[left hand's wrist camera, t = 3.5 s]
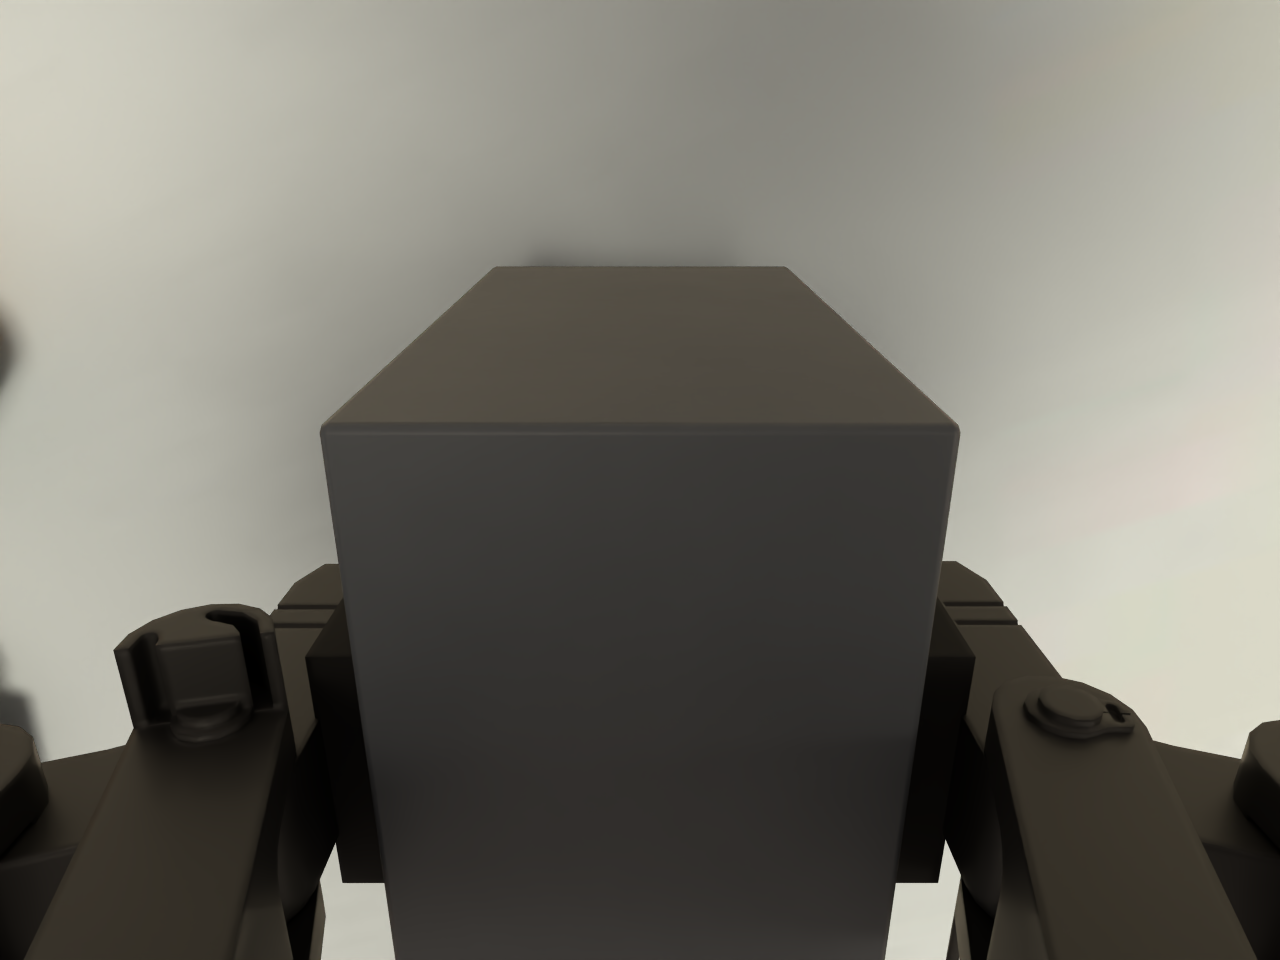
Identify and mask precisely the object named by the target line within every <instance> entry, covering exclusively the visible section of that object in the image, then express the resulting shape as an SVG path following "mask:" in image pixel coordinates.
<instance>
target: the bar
mask: <svg viewBox="0 0 1280 960" xmlns="http://www.w3.org/2000/svg"><path fill="white" fill-rule="evenodd" d="M320 437H321V444H322V451H323V458H324V465H325V472H326V479H327V486H328V493H329V500H330V507H331V514H332V521H333V528H334V535H335V542H336V549H337V556H338V563H339V570H340V577H341V584H342V591H343V598H344V605H345V612H346V619H347V625H348V632H349V639H350V646H351V653H352V660H353V667H354V674H355V681H356V688H357V695H358V702H359V709H360V716H361V723H362V730H363V737H364V744H365V751H366V758H367V765H368V772H369V779H370V786H371V793H372V800H373V806H374V813H375V820H376V827H377V834H378V841H379V848H380V855H381V862H382V869H383V876H384V883H385V890H386V897H387V904H388V911H389V918H390V925H391V932H392V939H393V946H394V953H395V960H885V954H886V947H887V940H888V933H889V926H890V919H891V912H892V905H893V898H894V891H895V884H896V877H897V870H898V863H899V857H900V850H901V843H902V836H903V829H904V822H905V815H906V808H907V801H908V794H909V787H910V780H911V773H912V766H913V759H914V752H915V745H916V738H917V731H918V724H919V718H920V711H921V704H922V697H923V690H924V683H925V676H926V669H927V662H928V655H929V648H930V641H931V634H932V627H933V620H934V613H935V606H936V599H937V592H938V585H939V579H940V572H941V565H942V558H943V551H944V544H945V537H946V530H947V523H948V516H949V509H950V502H951V495H952V488H953V481H954V474H955V467H956V460H957V453H958V446H959V440H960V429H959V426H958V424H956V423H955V422H954V421H953V420H952V419H951V418H950V417H949V416H948V415H947V414H946V413H945V412H943V411H942V410H941V409H940V408H939V407H938V406H937V405H936V404H935V403H934V402H933V401H931V400H930V399H929V398H928V397H927V396H926V395H925V394H924V393H923V392H922V391H921V390H919V389H918V388H917V387H916V386H915V385H914V384H913V383H912V382H911V381H910V380H909V379H908V378H906V377H905V376H904V375H903V374H902V373H901V372H900V371H899V370H898V369H897V368H896V367H894V366H893V365H892V364H891V363H890V362H889V361H888V360H887V359H886V358H885V357H884V356H883V355H881V354H880V353H879V352H878V351H877V350H876V349H875V348H874V347H873V346H872V345H871V344H869V343H868V342H867V341H866V340H865V339H864V338H863V337H862V336H861V335H860V334H859V333H858V332H856V331H855V330H854V329H853V328H852V327H851V326H850V325H849V324H848V323H847V322H846V321H844V320H843V319H842V318H841V317H840V316H839V315H838V314H837V313H836V312H835V311H834V310H832V309H831V308H830V307H829V306H828V305H827V304H826V303H825V302H824V301H823V300H822V299H821V298H819V297H818V296H817V295H816V294H815V293H814V292H813V291H812V290H811V289H810V288H809V287H807V286H806V285H805V284H804V283H803V282H802V281H801V280H800V279H799V278H798V277H797V276H796V275H794V274H793V273H792V272H791V271H790V270H789V269H788V268H786V267H495V268H493V269H492V270H491V271H490V272H489V273H488V274H487V275H485V276H484V277H483V278H482V279H481V280H480V281H479V282H478V283H477V284H476V285H474V286H473V287H472V288H471V289H470V290H469V291H468V292H467V293H466V294H465V295H464V296H462V297H461V298H460V299H459V300H458V301H457V302H456V303H455V304H454V305H453V306H452V307H450V308H449V309H448V310H447V311H446V312H445V313H444V314H443V315H442V316H441V317H439V318H438V319H437V320H436V321H435V322H434V323H433V324H432V325H431V326H430V327H429V328H427V329H426V330H425V331H424V332H423V333H422V334H421V335H420V336H419V337H418V338H417V339H415V340H414V341H413V342H412V343H411V344H410V345H409V346H408V347H407V348H406V349H404V350H403V351H402V352H401V353H400V354H399V355H398V356H397V357H396V358H395V359H394V360H392V361H391V362H390V363H389V364H388V365H387V366H386V367H385V368H384V369H383V370H382V371H380V372H379V373H378V374H377V375H376V376H375V377H374V378H373V379H372V380H371V381H369V382H368V383H367V384H366V385H365V386H364V387H363V388H362V389H361V390H360V391H359V392H357V393H356V394H355V395H354V396H353V397H352V398H351V399H350V400H349V401H348V402H347V403H345V404H344V405H343V406H342V407H341V408H340V409H339V410H338V411H337V412H336V413H334V414H333V415H332V416H331V417H330V418H329V419H328V420H327V421H326V422H325V423H324V424H322V426H321V430H320Z"/></svg>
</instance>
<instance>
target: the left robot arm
mask: <svg viewBox="0 0 1280 960" xmlns="http://www.w3.org/2000/svg"><path fill="white" fill-rule="evenodd" d="M1017 622H1018V620H1017V619H1016V618H1015V616H1014V615H1013V614H1012V613H1011V611H1010V610H1009V609H1008V607H1007V606H1004V605H1003V601H1002V600H1001V598H1000V597H999V596H998V594H997V593H996V592H995V591H994V589H993V588H992V587H991V585H990V584H989V583H988V581H987V580H985V579H984V578H982V577H981V576H979V575H977V574H976V573H974V572H973V571H971V570H969V569H968V568H966V567H965V566H963V565H961V564H960V563H958V562H956V561H942V565H941V572H940V579H939V585H938V592H937V599H936V606H935V613H934V620H933V627H932V634H931V641H930V648H929V655H928V662H927V669H926V676H925V683H924V690H923V697H922V704H921V711H920V718H919V724H918V731H917V738H916V745H915V752H914V759H913V766H912V773H911V780H910V787H909V794H908V801H907V808H906V815H905V822H904V829H903V836H902V843H901V850H900V857H899V863H898V870H897V877H896V883H938V880H939V874H940V868H941V862H942V856H943V850H944V844H945V839H946V841H947V844H948V846H949V848H950V851H951V853H952V855H953V858H954V860H955V862H956V865H957V867H958V869H959V872H960V874H961V879H960V884H959V890H958V895H957V901H956V906H955V912H954V917H953V923H952V929H951V934H950V940H949V945H948V951H947V957H946V960H959V959H960V960H1280V720H1277V721H1270V722H1264V723H1262V724H1260V725H1259V726H1258V727H1256V728H1255V729H1254V730H1253V731H1251V732H1250V733H1249V736H1248V739H1247V742H1246V746H1245V749H1244V752H1243V755H1242V758H1241V759H1237V758H1232V757H1227V756H1222V755H1217V754H1212V753H1207V752H1202V751H1197V750H1192V749H1187V748H1182V747H1177V746H1172V745H1168V744H1165V743H1161V742H1157V741H1153V740H1152V738H1151V736H1150V733H1149V731H1148V729H1147V727H1146V726H1145V725H1144V723H1143V722H1142V721H1141V720H1140V718H1139V717H1138V716H1137V715H1136V713H1135V712H1134V711H1133V710H1132V709H1131V708H1129V707H1128V706H1127V705H1125V704H1124V703H1122V702H1121V701H1119V700H1118V699H1116V698H1115V697H1113V696H1112V695H1111V694H1108V693H1106V692H1104V691H1101V690H1099V689H1096V688H1094V687H1092V686H1089V685H1087V684H1085V683H1082V682H1077V681H1073V680H1068V679H1064V678H1062V677H1061V676H1060V675H1059V673H1058V672H1057V671H1056V669H1055V668H1054V667H1053V666H1052V664H1051V663H1050V662H1049V660H1048V659H1047V658H1046V656H1045V655H1044V654H1043V653H1042V651H1041V650H1040V649H1039V647H1038V646H1037V645H1036V644H1035V642H1034V641H1033V640H1032V638H1031V637H1030V636H1029V635H1028V633H1027V632H1026V631H1025V629H1024V628H1023V627H1022V625H1018V623H1017ZM113 651H114V655H115V658H116V662H117V666H118V670H119V674H120V677H121V681H122V685H123V689H124V693H125V697H126V700H127V704H128V708H129V712H130V716H131V719H132V723H133V727H134V729H133V731H132V733H131V735H130V737H129V739H128V741H127V743H126V745H123V746H120V747H116V748H112V749H108V750H103V751H98V752H93V753H88V754H83V755H78V756H73V757H68V758H63V759H58V760H53V761H48V762H43V763H41V762H40V759H39V756H38V752H37V749H36V746H35V743H34V740H33V737H32V736H31V735H30V734H28V733H27V732H26V731H25V730H23V729H22V728H21V727H19V726H13V725H6V724H0V960H321V952H322V944H323V935H324V927H325V918H326V915H325V908H324V901H323V895H322V890H321V884H320V878H321V875H322V873H323V871H324V868H325V866H326V864H327V861H328V859H329V857H330V854H331V852H332V850H333V847H334V845H335V843H336V847H337V853H338V859H339V864H340V870H341V876H342V882H343V883H384V876H383V869H382V862H381V855H380V848H379V841H378V834H377V827H376V820H375V813H374V806H373V800H372V793H371V786H370V779H369V772H368V765H367V758H366V751H365V744H364V737H363V730H362V723H361V716H360V709H359V702H358V695H357V688H356V681H355V674H354V667H353V660H352V653H351V646H350V639H349V632H348V625H347V619H346V612H345V605H344V598H343V591H342V584H341V577H340V570H339V564H324V565H323V566H321V567H320V568H318V569H316V570H315V571H313V572H312V573H310V574H308V575H307V576H305V577H304V578H302V579H300V580H299V581H297V582H296V583H294V585H293V586H292V587H291V589H290V590H289V591H288V592H287V594H286V595H285V596H284V598H283V599H282V600H281V602H280V603H279V604H278V609H274V611H273V612H272V613H271V615H270V616H269V615H268V614H267V613H265V612H264V611H263V610H261V609H260V608H255V607H251V606H246V605H242V604H210V605H205V606H200V607H195V608H189V609H184V610H180V611H177V612H174V613H172V614H169V615H166V616H163V617H161V618H158V619H155V620H152V621H151V622H149V623H147V624H145V625H144V626H142V627H140V628H139V629H137V630H135V631H133V632H132V633H130V634H128V635H127V636H126V637H125V639H124V640H123V641H122V642H121V643H120V644H119V645H118V646H117V647H116V648H115V649H114V650H113Z"/></svg>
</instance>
